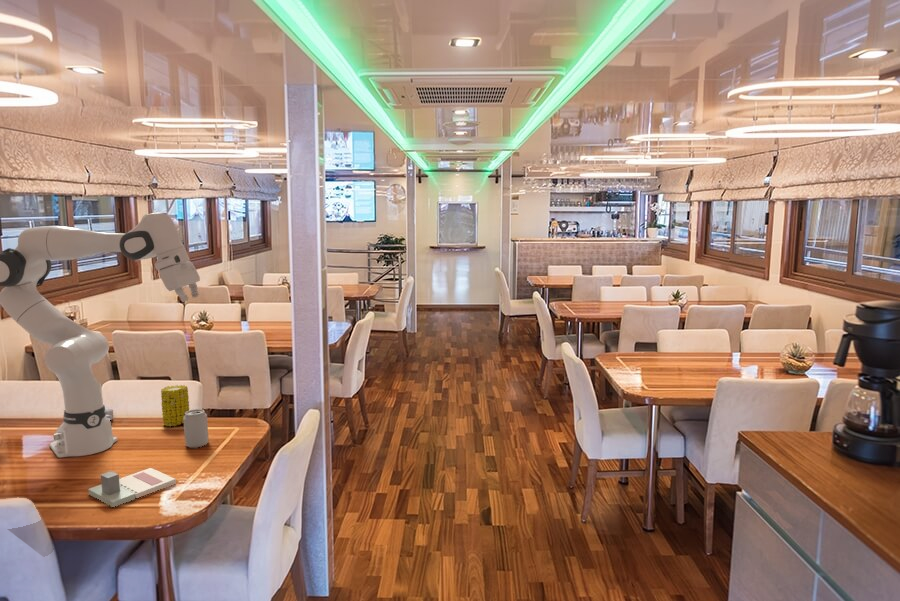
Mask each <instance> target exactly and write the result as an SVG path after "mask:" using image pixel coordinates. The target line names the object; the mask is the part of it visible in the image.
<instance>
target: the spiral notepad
mask: <svg viewBox="0 0 900 601" xmlns="http://www.w3.org/2000/svg"><path fill="white" fill-rule="evenodd" d="M176 481H177V479H176V478H174V477H172V476H170V475H169V474H165V473H164V472H161V471H159V470H156V469H155V468H152V467H149V468H146V469H143V470H140V471H138V472H135V473H132V474H131V473H130V474H129V475H126V476H123V477H121V478H120V477H119V484H120V487H122V488H124V489H126V490H128V491H130V492H132V493H134V494H135V498H139V497H141V496H143V495H146V494H149V493H152V492H154V493H156V492H155V491H157V490H159V491H161V490H160V489H162V488H165V489H167V488H169V486H170V487H172V486H175V485H177V482H176ZM174 484H175V485H174ZM171 485H172V486H171ZM166 487H167V488H166ZM162 490H163V489H162ZM157 492H158V491H157ZM152 494H153V493H152ZM149 495H150V494H149ZM146 496H147V495H146ZM141 498H142V497H141ZM139 499H140V498H139Z"/></svg>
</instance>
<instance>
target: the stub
mask: <svg viewBox="0 0 900 601" xmlns="http://www.w3.org/2000/svg"><path fill="white" fill-rule="evenodd" d="M119 475H120V474H118V472H117V473H116V472H115V471H112V470H111V471H107V472H104V473H101V474H100V483H101V484H99V485H96V486H93V487H90V488H88V495H89V494H90V495H89V496H90V497H93V498H95V499H96V498H97V499H96V500H98V499H99V500H98V501H100V500H101V501H100V502H102V503H103V502H104V504H105V503H106V504H105V505H107V504H108V505H107V506H109V505H110V506H109V507H111V508H112V507H114V508H116V507H119V506H121V505H124V504H126V502H127V503H129V502H132V501H134V500H136V499H135V494H134V493H132V492H130V491H128V490H126V489H124V488H122V487H120V484H119V479H120V476H119ZM131 500H132V501H131ZM123 503H124V504H123ZM120 504H121V505H120ZM118 505H119V506H118ZM115 506H116V507H115Z"/></svg>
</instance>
